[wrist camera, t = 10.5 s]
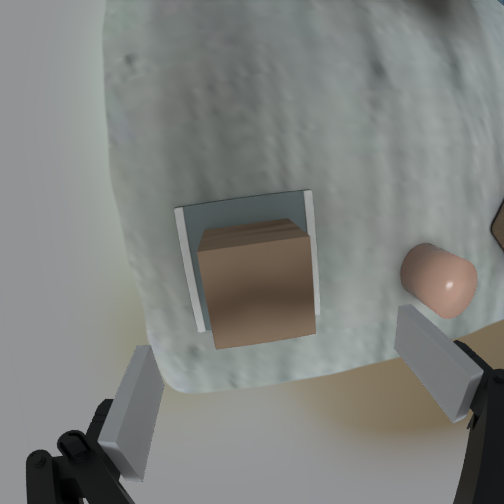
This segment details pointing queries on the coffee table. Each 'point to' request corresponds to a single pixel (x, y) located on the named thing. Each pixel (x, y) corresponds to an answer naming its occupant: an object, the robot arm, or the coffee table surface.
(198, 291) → the mat
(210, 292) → the cube
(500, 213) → the wooden block
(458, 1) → the coffee table surface
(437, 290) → the pink cylinder
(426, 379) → the robot arm
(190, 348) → the coffee table surface
